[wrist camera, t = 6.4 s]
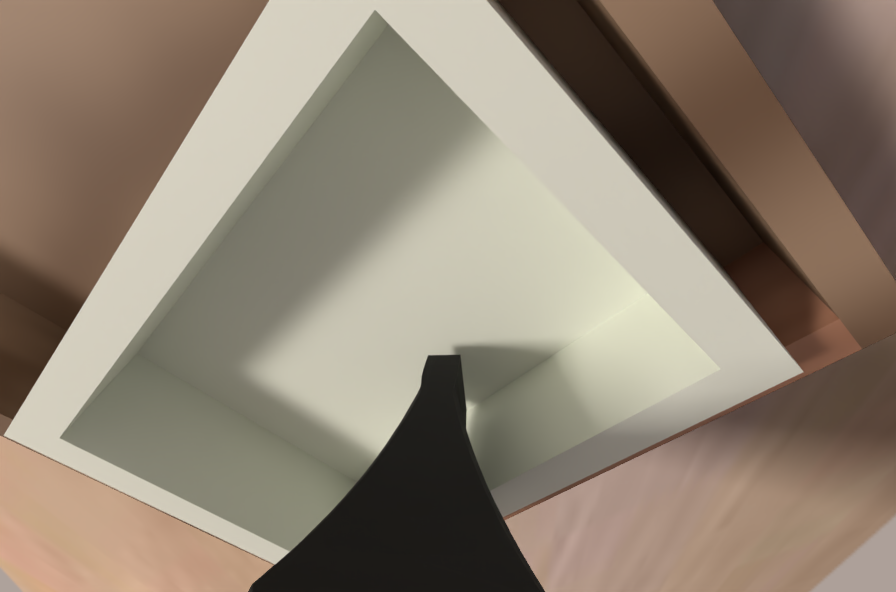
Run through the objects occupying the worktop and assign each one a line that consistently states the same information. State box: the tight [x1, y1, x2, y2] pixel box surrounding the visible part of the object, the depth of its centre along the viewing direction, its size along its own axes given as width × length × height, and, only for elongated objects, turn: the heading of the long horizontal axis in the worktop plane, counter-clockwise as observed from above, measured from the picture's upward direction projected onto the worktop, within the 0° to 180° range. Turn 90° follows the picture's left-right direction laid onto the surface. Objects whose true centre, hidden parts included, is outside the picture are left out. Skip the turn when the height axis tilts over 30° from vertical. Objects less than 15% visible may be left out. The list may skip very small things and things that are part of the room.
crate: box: [4, 0, 803, 564], centre depth 11 cm, size 10×14×4 cm
